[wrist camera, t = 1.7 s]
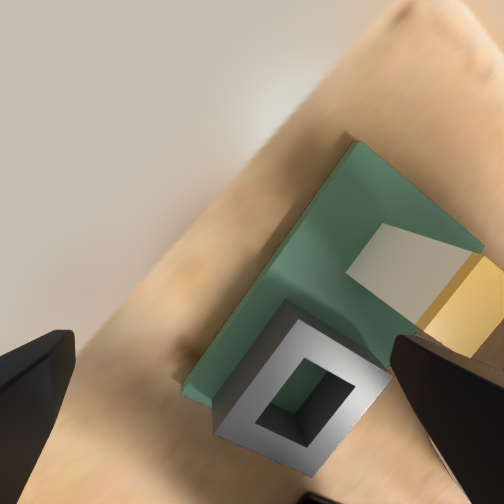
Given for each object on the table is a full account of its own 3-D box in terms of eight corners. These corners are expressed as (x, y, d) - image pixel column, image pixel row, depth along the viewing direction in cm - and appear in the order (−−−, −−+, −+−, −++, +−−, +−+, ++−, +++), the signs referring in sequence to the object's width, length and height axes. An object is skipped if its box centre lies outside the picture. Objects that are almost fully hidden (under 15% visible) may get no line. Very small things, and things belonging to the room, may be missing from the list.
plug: (414, 247, 22) (526, 291, 15) (377, 294, 23) (467, 361, 15) (382, 222, 21) (484, 255, 14) (345, 272, 22) (423, 331, 14)
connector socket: (370, 351, 24) (393, 376, 21) (298, 441, 25) (311, 477, 22) (285, 298, 22) (298, 319, 19) (211, 400, 23) (213, 434, 20)
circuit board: (473, 242, 24) (485, 246, 23) (311, 447, 26) (315, 457, 26) (353, 141, 21) (360, 140, 20) (181, 384, 23) (180, 394, 22)
